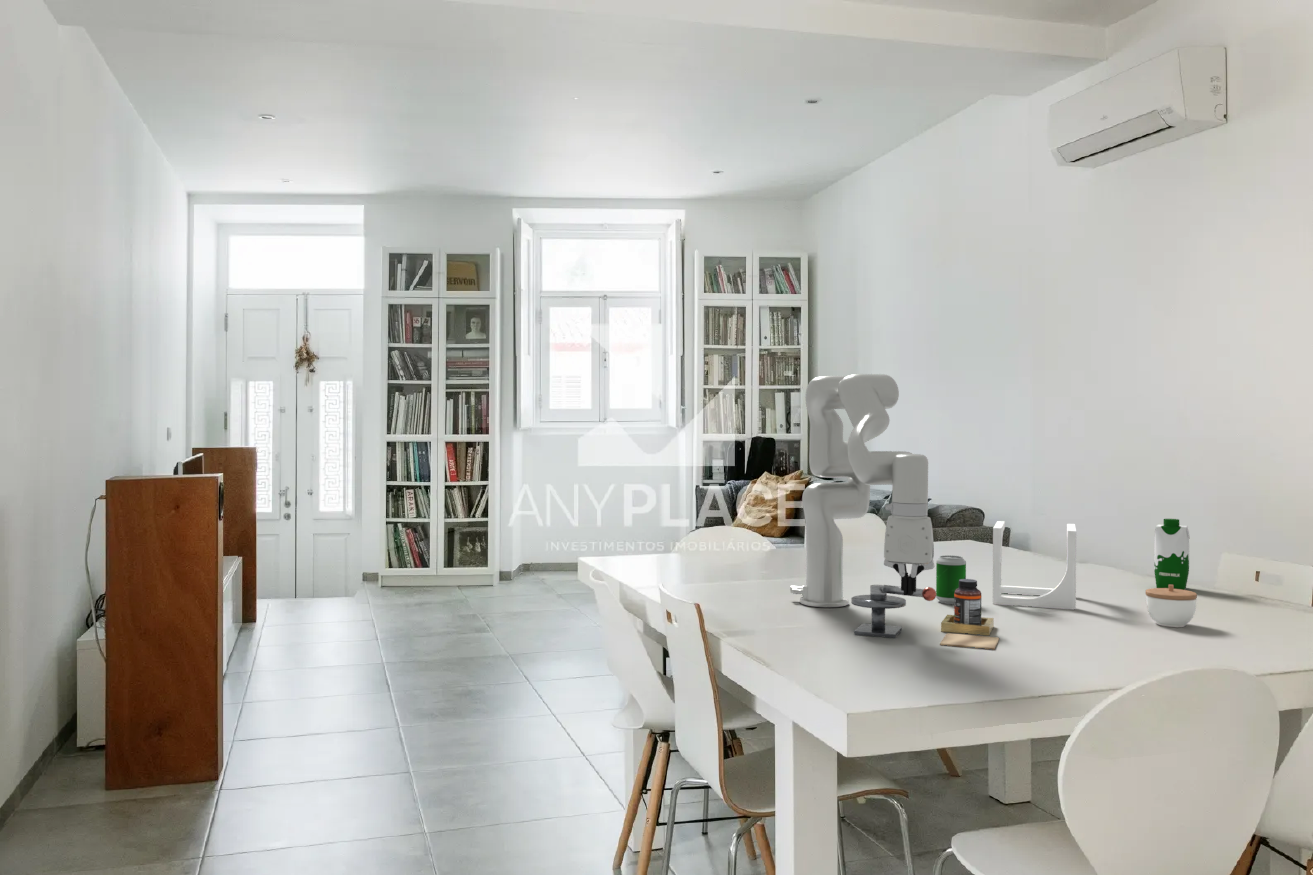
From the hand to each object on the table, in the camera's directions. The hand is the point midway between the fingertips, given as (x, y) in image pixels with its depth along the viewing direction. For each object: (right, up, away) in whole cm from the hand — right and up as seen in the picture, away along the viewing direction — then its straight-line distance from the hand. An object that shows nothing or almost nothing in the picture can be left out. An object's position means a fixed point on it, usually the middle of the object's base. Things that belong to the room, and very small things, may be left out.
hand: (908, 594), depth 214 cm
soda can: (+23, -10, +46) cm, 52 cm away
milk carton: (+93, -9, +68) cm, 116 cm away
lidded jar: (+66, -10, +17) cm, 69 cm away
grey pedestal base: (-5, -10, +8) cm, 13 cm away
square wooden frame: (+16, -10, +11) cm, 22 cm away
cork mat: (+13, -10, -2) cm, 16 cm away
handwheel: (-2, -3, +5) cm, 6 cm away
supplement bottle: (+16, -10, +11) cm, 22 cm away
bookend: (+46, -10, +48) cm, 68 cm away
